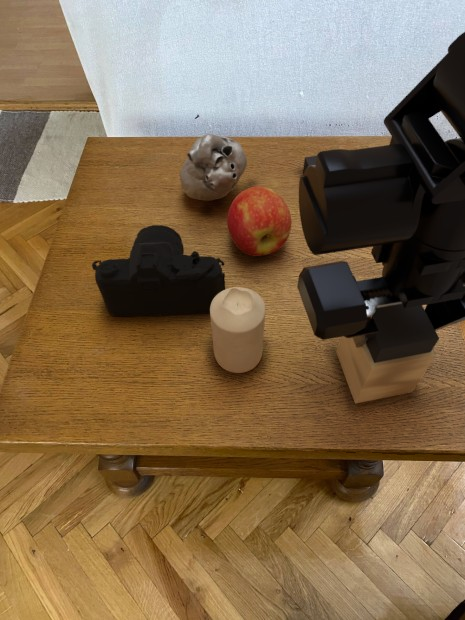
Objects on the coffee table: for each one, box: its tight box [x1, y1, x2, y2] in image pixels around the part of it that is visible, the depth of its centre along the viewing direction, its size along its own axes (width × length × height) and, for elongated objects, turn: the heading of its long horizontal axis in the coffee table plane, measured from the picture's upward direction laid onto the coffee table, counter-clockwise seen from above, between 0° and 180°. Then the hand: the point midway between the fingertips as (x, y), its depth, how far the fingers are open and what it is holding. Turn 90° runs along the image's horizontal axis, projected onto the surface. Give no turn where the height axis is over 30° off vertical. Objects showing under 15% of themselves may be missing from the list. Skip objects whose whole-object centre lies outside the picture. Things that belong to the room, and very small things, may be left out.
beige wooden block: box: [335, 336, 437, 404], centre depth 50 cm, size 6×6×8 cm
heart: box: [179, 133, 248, 202], centre depth 66 cm, size 10×10×12 cm
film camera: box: [91, 224, 226, 317], centre depth 57 cm, size 15×10×9 cm, turn 91°
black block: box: [366, 304, 440, 363], centre depth 46 cm, size 6×6×2 cm
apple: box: [226, 186, 293, 257], centre depth 61 cm, size 8×8×8 cm
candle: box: [209, 286, 266, 374], centre depth 51 cm, size 6×6×10 cm
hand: (389, 336), depth 47 cm, fingers closed on beige wooden block, 6 cm apart
